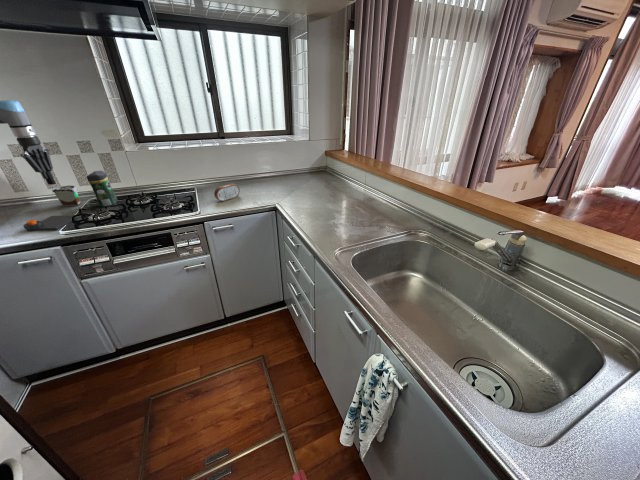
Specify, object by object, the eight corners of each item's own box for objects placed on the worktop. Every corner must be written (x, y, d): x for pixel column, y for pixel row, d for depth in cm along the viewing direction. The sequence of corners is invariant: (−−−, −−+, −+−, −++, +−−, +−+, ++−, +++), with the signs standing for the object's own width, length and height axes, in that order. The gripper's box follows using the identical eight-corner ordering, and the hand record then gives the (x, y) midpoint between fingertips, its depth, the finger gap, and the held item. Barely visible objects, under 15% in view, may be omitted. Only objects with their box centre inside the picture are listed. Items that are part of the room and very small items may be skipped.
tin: (238, 195, 163) (236, 181, 158) (241, 196, 161) (239, 182, 156) (215, 202, 153) (212, 187, 149) (218, 203, 152) (215, 189, 147)
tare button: (26, 225, 124) (23, 222, 123) (32, 222, 127) (30, 219, 126) (32, 225, 124) (30, 222, 123) (39, 222, 127) (37, 219, 126)
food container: (89, 201, 157) (81, 185, 152) (81, 205, 152) (72, 188, 146) (69, 201, 157) (60, 185, 152) (60, 205, 152) (50, 188, 147)
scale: (23, 232, 124) (19, 226, 123) (50, 218, 137) (47, 213, 136) (55, 231, 124) (52, 225, 123) (80, 217, 137) (77, 212, 136)
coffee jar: (104, 202, 156) (90, 170, 146) (119, 200, 158) (106, 169, 148) (97, 208, 148) (82, 175, 138) (114, 206, 150) (100, 173, 140)
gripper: (21, 138, 122) (48, 188, 134) (46, 134, 133) (69, 180, 145) (4, 139, 122) (33, 188, 134) (31, 134, 133) (55, 180, 145)
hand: (52, 184), depth 139 cm, fingers closed
